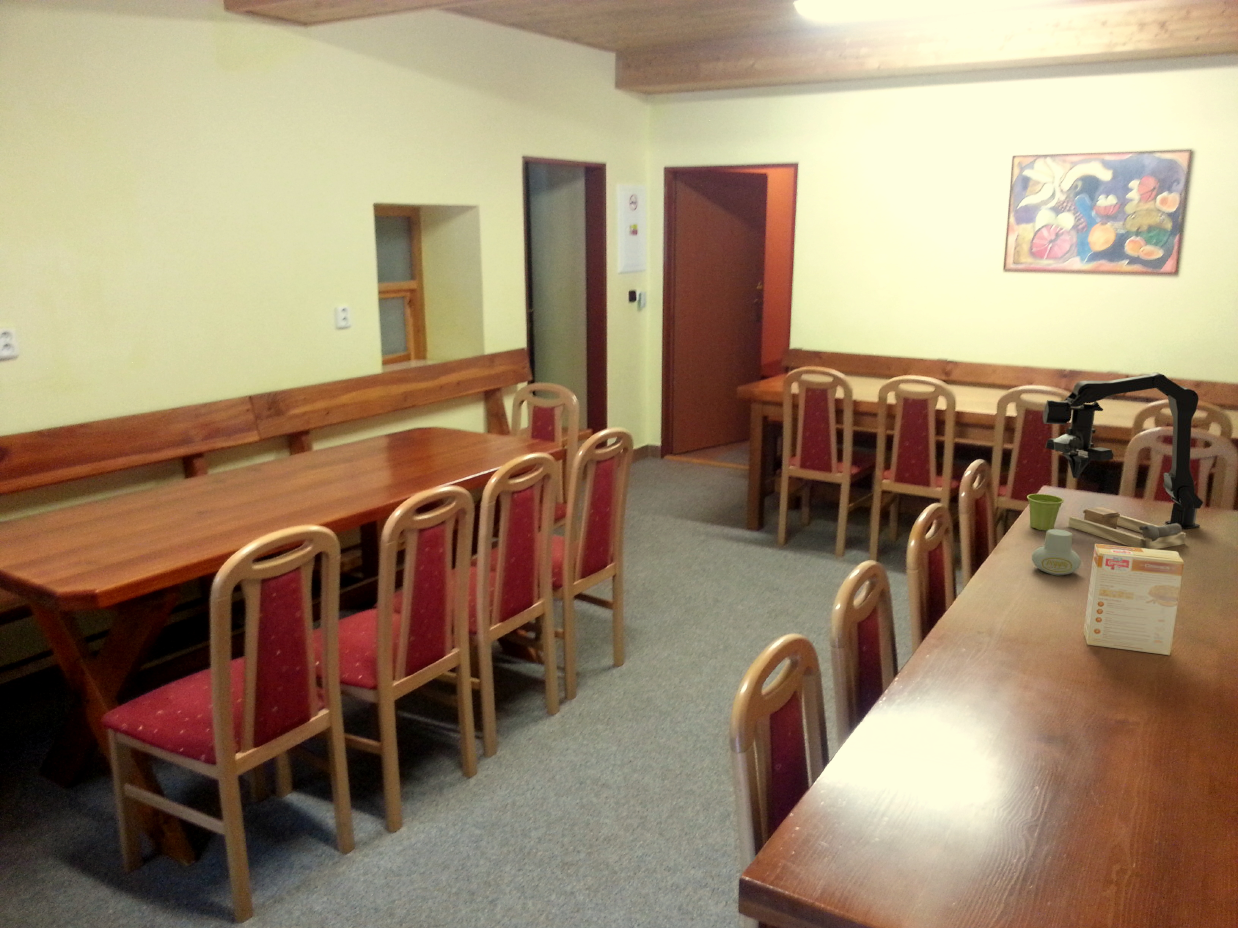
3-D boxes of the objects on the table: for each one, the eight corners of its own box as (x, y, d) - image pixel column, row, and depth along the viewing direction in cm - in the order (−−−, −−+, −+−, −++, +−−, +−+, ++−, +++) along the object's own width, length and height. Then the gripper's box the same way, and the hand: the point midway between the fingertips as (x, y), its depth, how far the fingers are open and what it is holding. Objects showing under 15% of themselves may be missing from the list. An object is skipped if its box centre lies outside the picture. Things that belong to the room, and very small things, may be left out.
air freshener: (1030, 573, 232) (1035, 534, 230) (1030, 563, 240) (1034, 525, 238) (1080, 579, 228) (1085, 540, 226) (1078, 569, 236) (1083, 530, 234)
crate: (1096, 523, 276) (1099, 506, 275) (1117, 529, 270) (1120, 512, 268) (1081, 525, 273) (1083, 508, 272) (1102, 532, 267) (1104, 514, 266)
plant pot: (1063, 533, 265) (1067, 503, 263) (1027, 531, 266) (1030, 501, 264) (1055, 524, 274) (1059, 494, 272) (1020, 521, 275) (1024, 492, 273)
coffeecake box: (1163, 642, 193) (1177, 550, 188) (1170, 656, 186) (1185, 561, 182) (1082, 631, 198) (1094, 542, 193) (1086, 645, 191) (1098, 552, 187)
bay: (1106, 520, 278) (1109, 498, 277) (1189, 545, 256) (1192, 521, 254) (1068, 526, 272) (1071, 503, 270) (1149, 552, 249) (1153, 528, 248)
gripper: (1035, 421, 279) (1029, 473, 282) (1089, 433, 262) (1082, 488, 266) (1062, 419, 283) (1056, 470, 287) (1118, 430, 267) (1110, 484, 270)
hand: (1075, 478), depth 277 cm, fingers closed
